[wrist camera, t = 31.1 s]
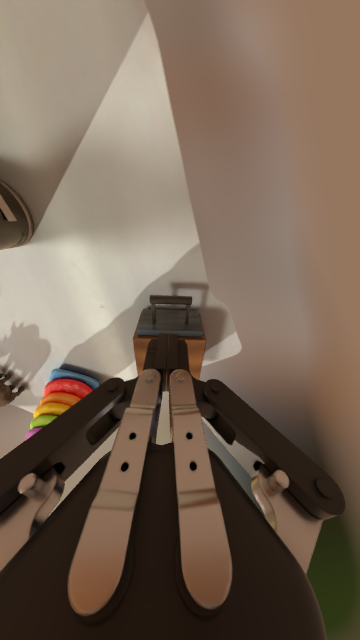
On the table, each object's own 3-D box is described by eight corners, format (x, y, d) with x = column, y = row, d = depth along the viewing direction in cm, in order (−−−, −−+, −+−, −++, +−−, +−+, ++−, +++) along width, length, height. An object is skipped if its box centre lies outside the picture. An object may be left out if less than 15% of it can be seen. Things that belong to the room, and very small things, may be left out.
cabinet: (141, 311, 36) (132, 338, 28) (199, 313, 37) (206, 340, 29) (145, 359, 44) (139, 390, 37) (193, 359, 45) (197, 390, 37)
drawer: (141, 284, 32) (133, 302, 26) (201, 286, 32) (207, 304, 26) (147, 355, 42) (142, 380, 36) (192, 356, 43) (195, 380, 37)
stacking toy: (92, 400, 54) (46, 508, 34) (49, 388, 50) (-31, 502, 31) (106, 376, 48) (58, 492, 28) (57, 360, 44) (-37, 482, 24)
